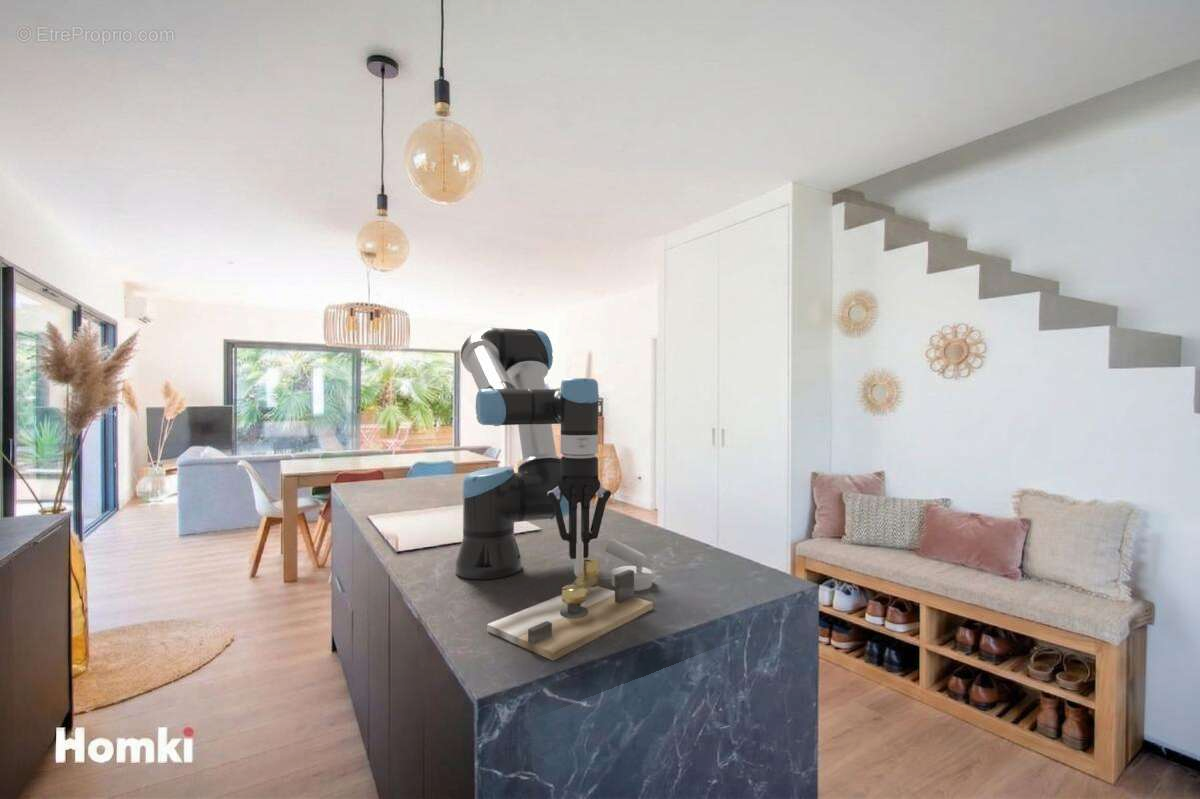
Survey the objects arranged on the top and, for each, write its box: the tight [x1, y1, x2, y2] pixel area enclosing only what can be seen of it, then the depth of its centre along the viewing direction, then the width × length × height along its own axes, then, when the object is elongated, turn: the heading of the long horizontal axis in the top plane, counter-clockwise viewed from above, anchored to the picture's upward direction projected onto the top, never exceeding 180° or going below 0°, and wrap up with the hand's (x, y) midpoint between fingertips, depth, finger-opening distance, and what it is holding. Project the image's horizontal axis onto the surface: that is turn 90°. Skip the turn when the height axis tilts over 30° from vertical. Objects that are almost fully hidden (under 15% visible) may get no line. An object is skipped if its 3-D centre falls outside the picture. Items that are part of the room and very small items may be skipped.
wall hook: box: [605, 537, 653, 592], centre depth 112 cm, size 9×10×10 cm
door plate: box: [486, 570, 654, 661], centre depth 94 cm, size 16×26×6 cm, turn 139°
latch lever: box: [561, 557, 600, 604], centre depth 99 cm, size 15×4×5 cm, turn 165°
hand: (578, 574), depth 104 cm, fingers closed
